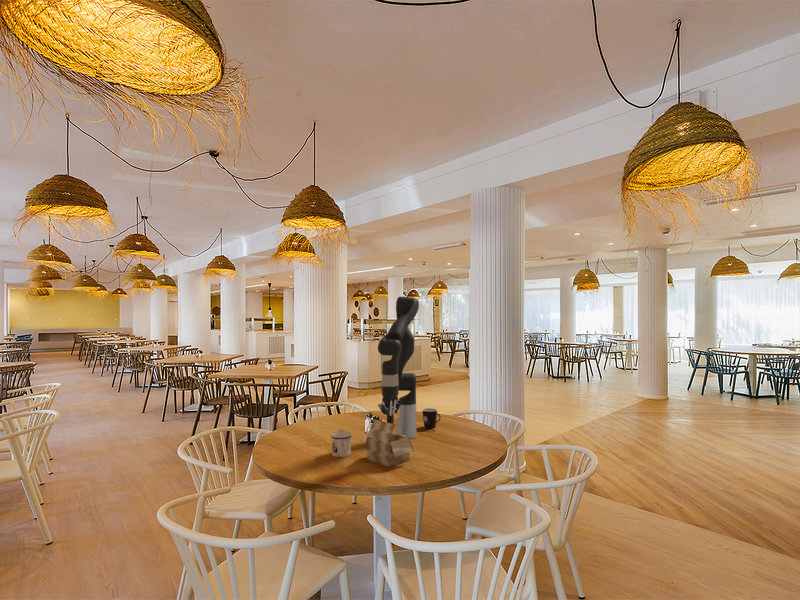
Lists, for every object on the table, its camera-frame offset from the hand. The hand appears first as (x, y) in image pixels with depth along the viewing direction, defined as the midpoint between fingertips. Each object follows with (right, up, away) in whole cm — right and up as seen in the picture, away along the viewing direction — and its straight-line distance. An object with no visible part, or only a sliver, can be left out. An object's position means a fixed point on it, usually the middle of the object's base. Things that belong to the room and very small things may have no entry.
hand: (390, 423), depth 186 cm
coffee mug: (+22, -18, +52) cm, 59 cm away
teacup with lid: (-22, -16, +6) cm, 28 cm away
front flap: (-6, -5, -6) cm, 10 cm away
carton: (0, -16, 0) cm, 16 cm away
